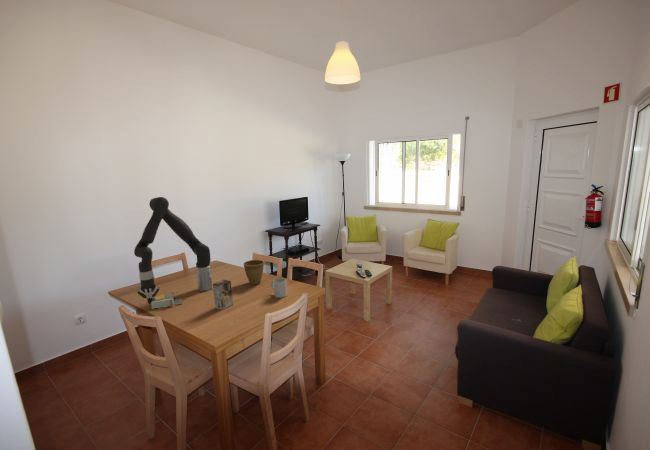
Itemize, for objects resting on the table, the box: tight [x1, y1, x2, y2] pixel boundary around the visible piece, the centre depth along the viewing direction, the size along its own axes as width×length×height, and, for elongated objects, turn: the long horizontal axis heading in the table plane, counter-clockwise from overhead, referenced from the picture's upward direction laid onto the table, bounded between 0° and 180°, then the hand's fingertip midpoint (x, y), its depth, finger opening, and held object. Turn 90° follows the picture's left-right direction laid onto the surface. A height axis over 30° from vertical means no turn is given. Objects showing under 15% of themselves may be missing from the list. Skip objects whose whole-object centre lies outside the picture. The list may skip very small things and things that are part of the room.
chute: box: [150, 291, 183, 310], centre depth 204 cm, size 17×13×5 cm
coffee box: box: [212, 279, 234, 311], centre depth 197 cm, size 9×6×16 cm
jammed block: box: [155, 294, 165, 301], centre depth 202 cm, size 5×5×5 cm
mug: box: [271, 277, 288, 299], centre depth 214 cm, size 12×8×11 cm
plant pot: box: [243, 259, 265, 285], centre depth 236 cm, size 15×15×16 cm
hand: (150, 303), depth 200 cm, fingers closed
